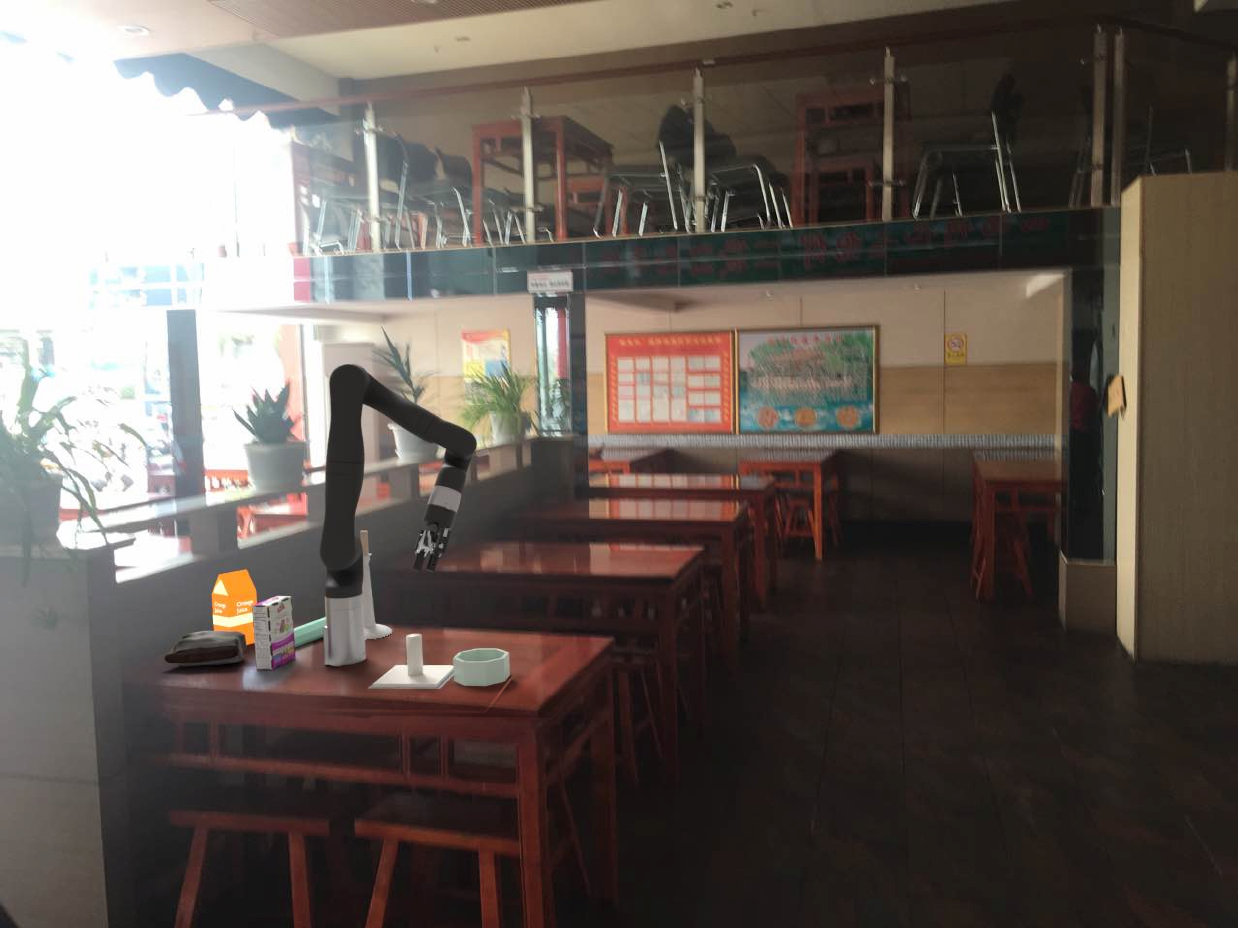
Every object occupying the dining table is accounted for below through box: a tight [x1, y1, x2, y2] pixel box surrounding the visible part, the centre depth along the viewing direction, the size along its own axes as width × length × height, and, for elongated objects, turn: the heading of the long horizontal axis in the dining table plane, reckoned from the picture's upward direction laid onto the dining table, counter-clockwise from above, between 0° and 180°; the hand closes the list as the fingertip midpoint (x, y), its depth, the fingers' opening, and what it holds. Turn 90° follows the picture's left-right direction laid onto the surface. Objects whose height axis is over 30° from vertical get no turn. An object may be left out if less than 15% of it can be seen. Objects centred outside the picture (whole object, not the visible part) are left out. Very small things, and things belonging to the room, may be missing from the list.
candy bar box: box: [252, 595, 297, 671], centre depth 247 cm, size 11×5×16 cm, turn 168°
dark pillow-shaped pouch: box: [164, 630, 247, 667], centre depth 249 cm, size 18×11×8 cm, turn 92°
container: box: [294, 616, 326, 648], centre depth 270 cm, size 6×6×25 cm
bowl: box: [452, 647, 511, 687], centre depth 228 cm, size 12×12×6 cm
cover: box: [372, 633, 454, 687], centre depth 230 cm, size 15×15×10 cm
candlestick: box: [360, 529, 393, 641], centre depth 275 cm, size 13×13×30 cm
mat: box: [367, 671, 454, 690], centre depth 230 cm, size 17×17×1 cm
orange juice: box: [211, 569, 258, 646], centre depth 270 cm, size 8×9×20 cm
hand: (422, 570), depth 238 cm, fingers open, 8 cm apart
